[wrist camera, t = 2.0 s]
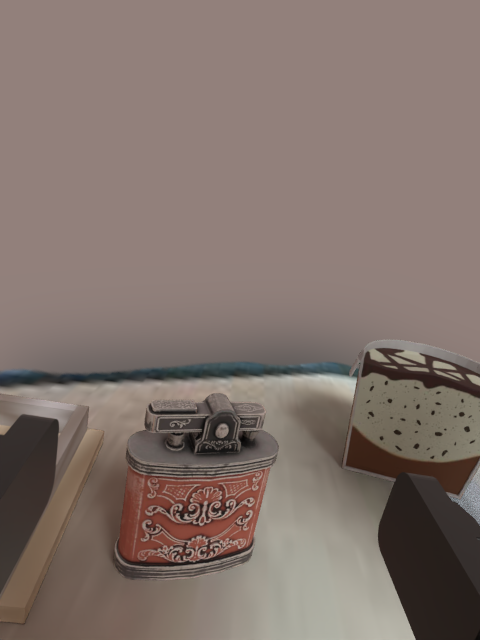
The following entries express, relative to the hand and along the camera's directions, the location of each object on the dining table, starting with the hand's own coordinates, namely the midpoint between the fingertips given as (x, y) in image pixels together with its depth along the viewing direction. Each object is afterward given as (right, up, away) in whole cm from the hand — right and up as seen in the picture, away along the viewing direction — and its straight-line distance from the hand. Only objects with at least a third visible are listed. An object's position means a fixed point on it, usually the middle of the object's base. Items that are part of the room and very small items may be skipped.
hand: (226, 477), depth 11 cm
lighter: (-3, -10, +16) cm, 19 cm away
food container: (+14, -9, +28) cm, 32 cm away
